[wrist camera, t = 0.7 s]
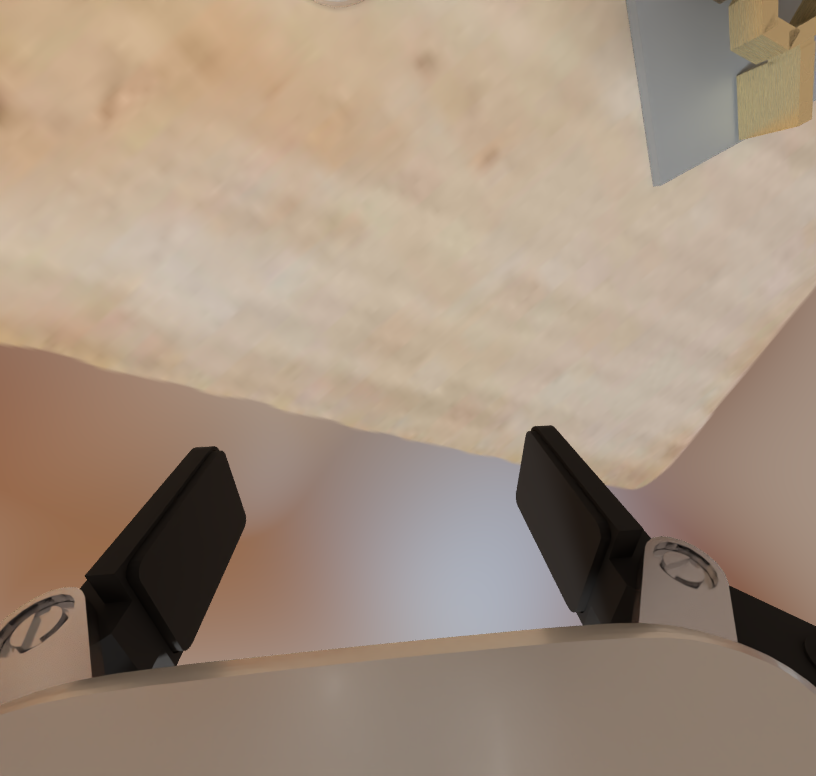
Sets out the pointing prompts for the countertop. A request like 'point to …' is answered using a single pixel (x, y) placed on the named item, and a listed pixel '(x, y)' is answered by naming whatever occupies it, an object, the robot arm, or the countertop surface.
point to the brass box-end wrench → (773, 65)
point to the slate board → (688, 80)
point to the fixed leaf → (719, 1)
